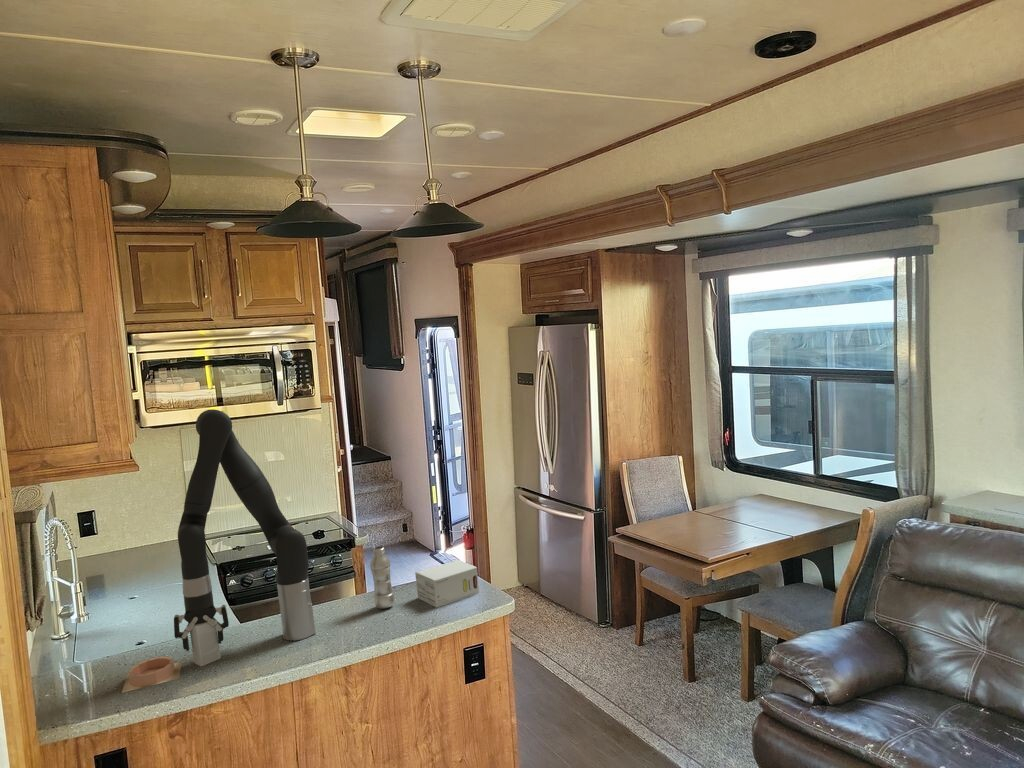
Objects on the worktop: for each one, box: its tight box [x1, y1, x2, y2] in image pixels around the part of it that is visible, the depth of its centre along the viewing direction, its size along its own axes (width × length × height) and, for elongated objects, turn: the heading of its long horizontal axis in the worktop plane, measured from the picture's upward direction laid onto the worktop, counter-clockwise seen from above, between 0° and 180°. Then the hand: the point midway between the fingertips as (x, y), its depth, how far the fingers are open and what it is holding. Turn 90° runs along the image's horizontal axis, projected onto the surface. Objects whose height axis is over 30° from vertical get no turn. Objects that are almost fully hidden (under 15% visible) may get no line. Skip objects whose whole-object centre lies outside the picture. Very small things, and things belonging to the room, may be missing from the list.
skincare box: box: [189, 618, 222, 667], centre depth 204 cm, size 6×4×12 cm
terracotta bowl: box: [128, 656, 175, 687], centre depth 197 cm, size 11×11×3 cm
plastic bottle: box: [369, 545, 396, 610], centre depth 233 cm, size 6×7×20 cm
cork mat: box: [121, 661, 182, 693], centre depth 197 cm, size 14×12×1 cm
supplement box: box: [415, 559, 480, 608], centre depth 238 cm, size 17×13×9 cm
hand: (204, 646), depth 204 cm, fingers open, 8 cm apart
